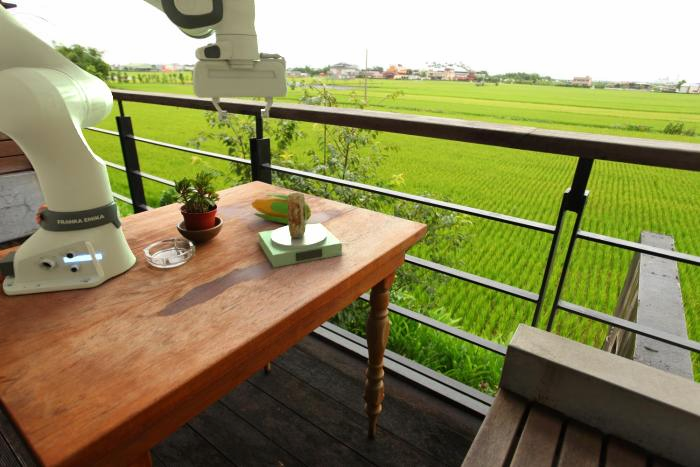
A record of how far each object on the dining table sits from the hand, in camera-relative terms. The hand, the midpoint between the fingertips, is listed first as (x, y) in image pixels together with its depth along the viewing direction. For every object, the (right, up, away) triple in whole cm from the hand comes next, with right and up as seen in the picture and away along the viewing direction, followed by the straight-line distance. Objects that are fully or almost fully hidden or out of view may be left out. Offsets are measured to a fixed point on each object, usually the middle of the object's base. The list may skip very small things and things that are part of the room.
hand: (244, 118), depth 88 cm
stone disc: (+12, -27, +2) cm, 29 cm away
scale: (+12, -30, +4) cm, 32 cm away
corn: (+4, -23, +22) cm, 32 cm away
